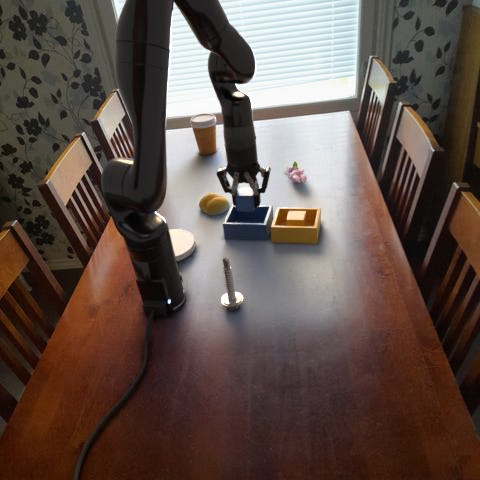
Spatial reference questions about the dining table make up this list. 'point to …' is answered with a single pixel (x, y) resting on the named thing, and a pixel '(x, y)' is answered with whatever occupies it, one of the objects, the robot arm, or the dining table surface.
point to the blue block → (245, 199)
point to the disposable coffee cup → (205, 132)
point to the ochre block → (296, 218)
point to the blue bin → (248, 223)
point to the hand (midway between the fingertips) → (247, 206)
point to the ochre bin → (296, 233)
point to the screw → (230, 288)
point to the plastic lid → (182, 243)
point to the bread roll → (214, 204)
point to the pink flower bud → (296, 173)
